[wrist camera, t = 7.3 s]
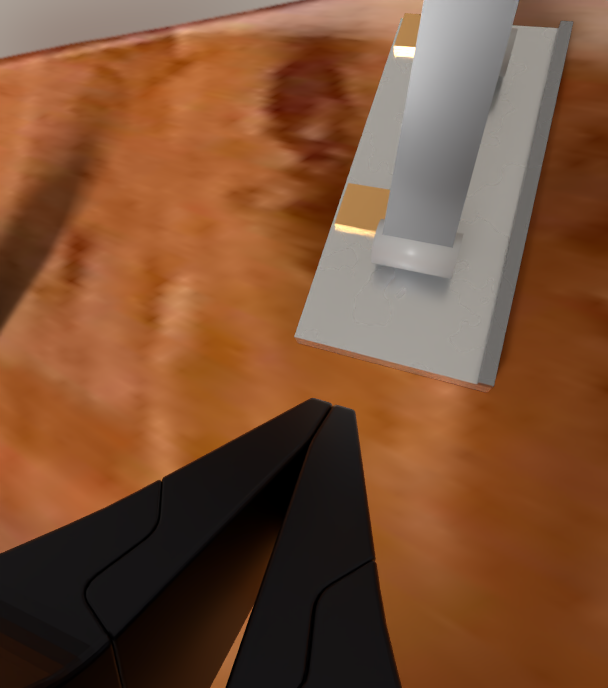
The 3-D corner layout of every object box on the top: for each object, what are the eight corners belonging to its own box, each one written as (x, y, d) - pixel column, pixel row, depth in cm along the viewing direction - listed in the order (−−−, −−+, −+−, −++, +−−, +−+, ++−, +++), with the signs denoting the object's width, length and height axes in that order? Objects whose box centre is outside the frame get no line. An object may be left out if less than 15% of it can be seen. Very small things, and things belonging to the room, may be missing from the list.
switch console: (486, 392, 20) (493, 386, 18) (298, 342, 22) (292, 334, 21) (563, 46, 24) (573, 21, 23) (400, 34, 27) (401, 11, 25)
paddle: (449, 285, 19) (573, -160, 12) (368, 269, 20) (440, -156, 13) (452, 269, 21) (563, -132, 14) (377, 255, 22) (445, -130, 15)
